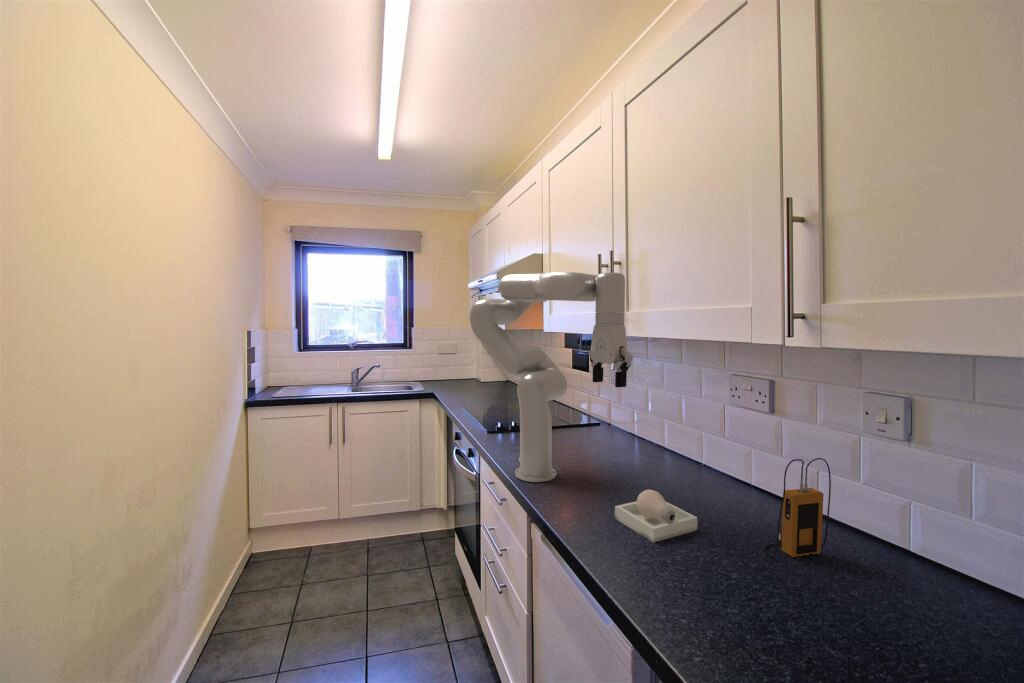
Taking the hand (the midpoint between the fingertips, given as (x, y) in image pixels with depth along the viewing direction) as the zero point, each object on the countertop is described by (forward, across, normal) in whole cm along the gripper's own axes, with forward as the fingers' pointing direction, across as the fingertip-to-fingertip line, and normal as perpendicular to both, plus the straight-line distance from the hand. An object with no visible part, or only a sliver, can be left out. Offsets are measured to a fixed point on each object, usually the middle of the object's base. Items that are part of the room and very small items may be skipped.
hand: (608, 384), depth 122 cm
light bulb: (+28, +20, -1) cm, 35 cm away
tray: (+30, +18, 0) cm, 36 cm away
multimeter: (+31, +38, +18) cm, 52 cm away
